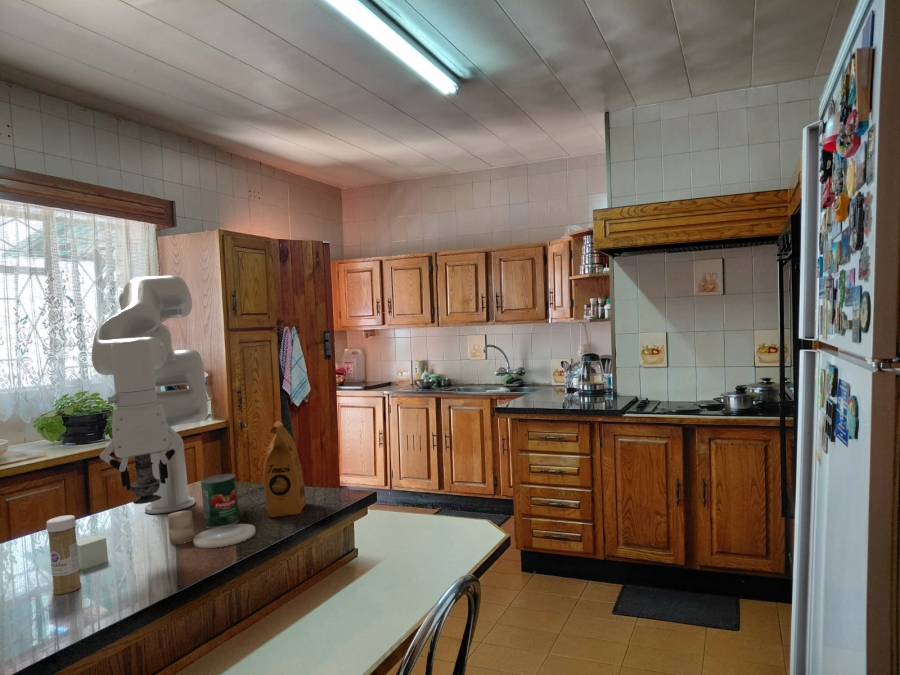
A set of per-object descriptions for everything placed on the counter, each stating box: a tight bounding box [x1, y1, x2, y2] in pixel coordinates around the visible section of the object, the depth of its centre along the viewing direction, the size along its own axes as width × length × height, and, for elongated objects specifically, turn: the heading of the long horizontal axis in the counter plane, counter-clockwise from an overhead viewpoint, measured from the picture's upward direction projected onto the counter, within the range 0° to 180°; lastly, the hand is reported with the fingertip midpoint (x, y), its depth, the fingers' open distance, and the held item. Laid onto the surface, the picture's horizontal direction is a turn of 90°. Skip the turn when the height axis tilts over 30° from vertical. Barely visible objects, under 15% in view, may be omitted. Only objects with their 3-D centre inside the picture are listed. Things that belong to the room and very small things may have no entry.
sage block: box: [76, 534, 109, 571], centre depth 131 cm, size 5×5×5 cm
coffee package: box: [262, 420, 306, 518], centre depth 159 cm, size 10×12×22 cm
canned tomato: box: [200, 473, 240, 529], centre depth 153 cm, size 8×8×11 cm
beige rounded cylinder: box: [167, 510, 195, 545], centre depth 142 cm, size 5×5×6 cm
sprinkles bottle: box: [46, 514, 82, 595], centre depth 117 cm, size 5×5×13 cm
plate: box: [192, 523, 256, 549], centre depth 141 cm, size 13×13×1 cm
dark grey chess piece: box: [130, 454, 161, 505], centre depth 131 cm, size 6×6×12 cm
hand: (145, 485), depth 131 cm, fingers closed on dark grey chess piece, 5 cm apart
